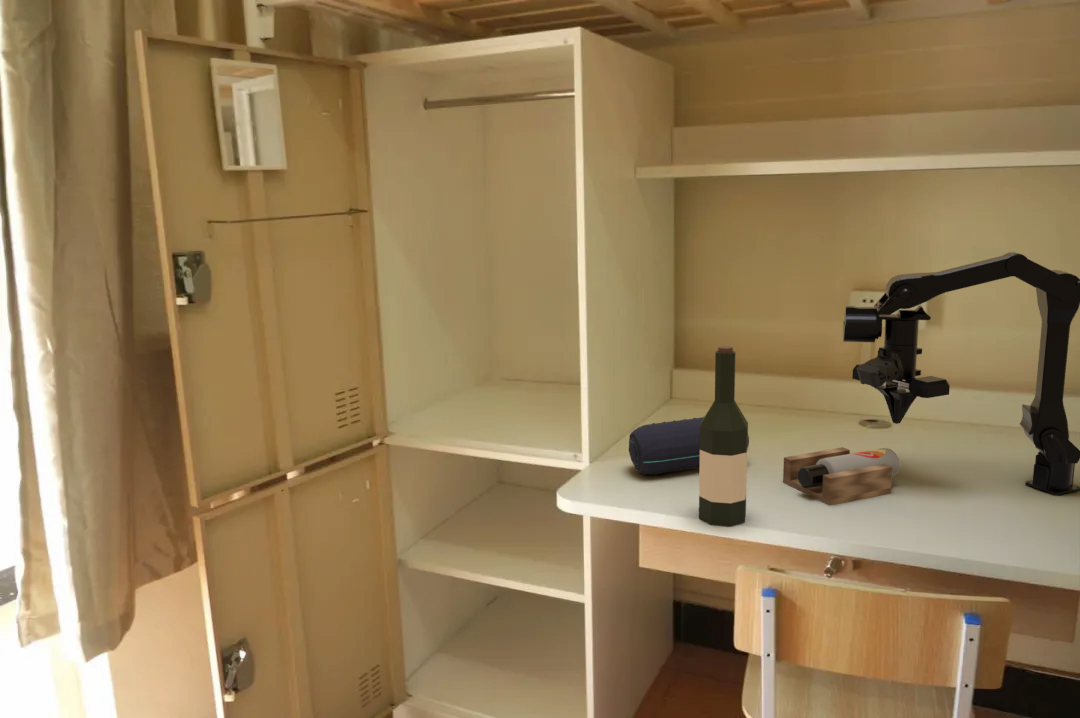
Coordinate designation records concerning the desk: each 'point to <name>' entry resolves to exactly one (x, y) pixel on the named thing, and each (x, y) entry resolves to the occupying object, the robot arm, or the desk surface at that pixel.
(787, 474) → the cradle
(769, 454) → the desk surface
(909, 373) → the robot arm
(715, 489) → the wine bottle
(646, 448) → the portable speaker
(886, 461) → the lotion bottle
